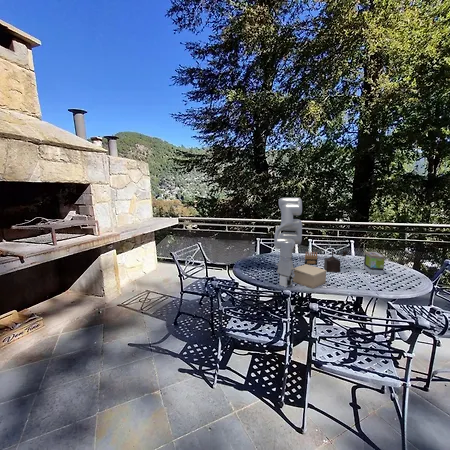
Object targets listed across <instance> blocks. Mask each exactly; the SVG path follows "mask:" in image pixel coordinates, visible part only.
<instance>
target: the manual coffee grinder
mask: <svg viewBox="0 0 450 450" xmlns="http://www.w3.org/2000/svg"><path fill="white" fill-rule="evenodd" d="M348 253H349V251H347V250H342V254H341V253H335V252H334V250H331V256H329V257H324V262H323V269H324V270H327V271H326V273H340V272H341V260H340V259H339V258H337V257H334V255H336V256H341V257H347V255H348Z"/></svg>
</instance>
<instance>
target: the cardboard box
mask: <svg viewBox="0 0 450 450" xmlns="http://www.w3.org/2000/svg"><path fill="white" fill-rule="evenodd" d="M293 273H294V274H295V277H294V278H292V282H293V283H295V284H299V285H302V286H304V287H308V288H311V289H315V288H317V287H320V286H322V285H324V284H325V283H326V282H327V281H326V280H327V272H324V273H322V274H320V275H317V276H315V277H312V276H309V275H306V274H303V273H300V272H297V271H295V270H293Z"/></svg>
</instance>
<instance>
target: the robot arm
mask: <svg viewBox="0 0 450 450" xmlns="http://www.w3.org/2000/svg"><path fill="white" fill-rule="evenodd" d="M278 207H279V210H280V212H281V213H280V215H281V216H280V221H281V222H280V225H279V226H278V227H277V228H276V230H275V232H274V235H273V236H274V239H273V240H274V241H273V244H274V245H273V246H274V248H275V249H278V250H279V260H278V263H276V264H275V265H276V266H277V270H276V273H277V274H278V276H279V277H280V275H285V276H287V277H288V280H287V285H288V286H287V287H289V285H290V286H292V284H291V279H292V280H293V278H294V277H295V274H294V273H293V271H294V270H293V268H294V263H293V249H294V248H295V246H296V245H301V244H302V239H303V222H302V220H301V219H300V218H299V219H298V218H294V216H301V215H302V213H303V200H302V199H301V198H300V197H281V198H279V199H278ZM282 231H284V232H282ZM291 275H292V276H291ZM289 276H290V277H289Z"/></svg>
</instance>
